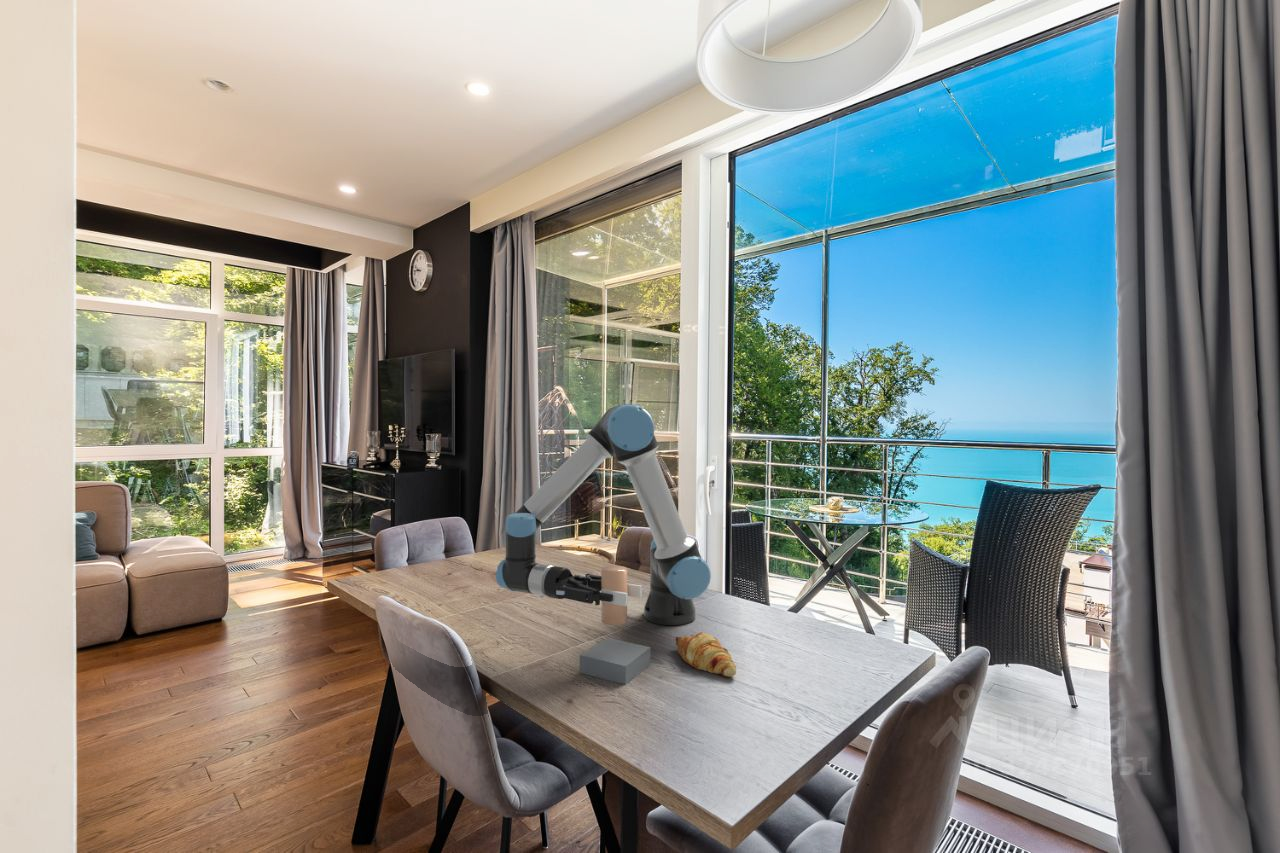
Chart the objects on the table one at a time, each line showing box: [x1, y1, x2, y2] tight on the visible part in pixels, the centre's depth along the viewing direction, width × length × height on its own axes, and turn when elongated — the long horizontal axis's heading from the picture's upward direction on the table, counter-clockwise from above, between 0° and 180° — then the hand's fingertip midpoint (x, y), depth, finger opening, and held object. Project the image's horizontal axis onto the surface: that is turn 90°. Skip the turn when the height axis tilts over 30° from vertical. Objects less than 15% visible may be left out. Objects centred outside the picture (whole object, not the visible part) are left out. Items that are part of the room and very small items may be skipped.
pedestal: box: [579, 637, 652, 685], centre depth 134 cm, size 12×12×4 cm
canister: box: [600, 565, 628, 626], centre depth 134 cm, size 6×6×12 cm
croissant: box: [674, 632, 737, 678], centre depth 137 cm, size 21×10×8 cm, turn 35°
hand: (633, 595), depth 131 cm, fingers closed on canister, 6 cm apart
